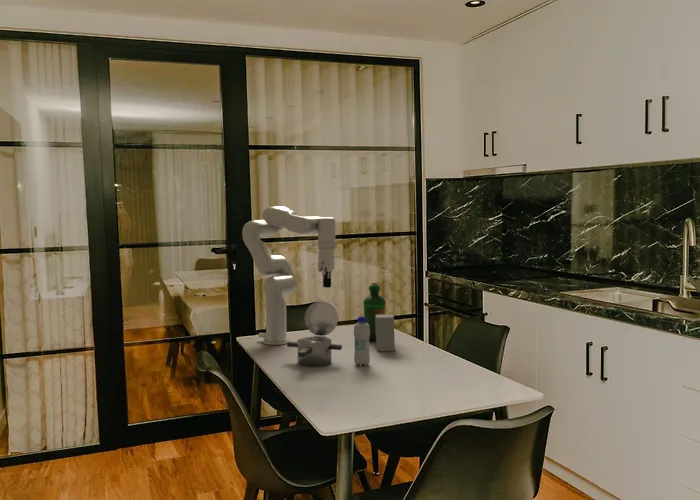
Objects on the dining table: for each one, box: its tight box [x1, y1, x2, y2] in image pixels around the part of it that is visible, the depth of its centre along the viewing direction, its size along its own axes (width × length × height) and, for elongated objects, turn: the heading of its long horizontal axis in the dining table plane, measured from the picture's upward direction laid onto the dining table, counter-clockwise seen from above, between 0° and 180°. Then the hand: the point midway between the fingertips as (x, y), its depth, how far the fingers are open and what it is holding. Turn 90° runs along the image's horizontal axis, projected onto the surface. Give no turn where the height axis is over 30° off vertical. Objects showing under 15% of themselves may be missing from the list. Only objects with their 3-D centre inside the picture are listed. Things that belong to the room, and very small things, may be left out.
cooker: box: [286, 335, 343, 368], centre depth 248 cm, size 23×24×9 cm
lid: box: [304, 300, 339, 337], centre depth 261 cm, size 15×15×3 cm
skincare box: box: [375, 314, 396, 352], centre depth 273 cm, size 8×7×16 cm
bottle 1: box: [353, 315, 371, 367], centre depth 248 cm, size 7×7×20 cm
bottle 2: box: [362, 281, 386, 343], centre depth 292 cm, size 11×11×28 cm
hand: (327, 287), depth 268 cm, fingers closed
